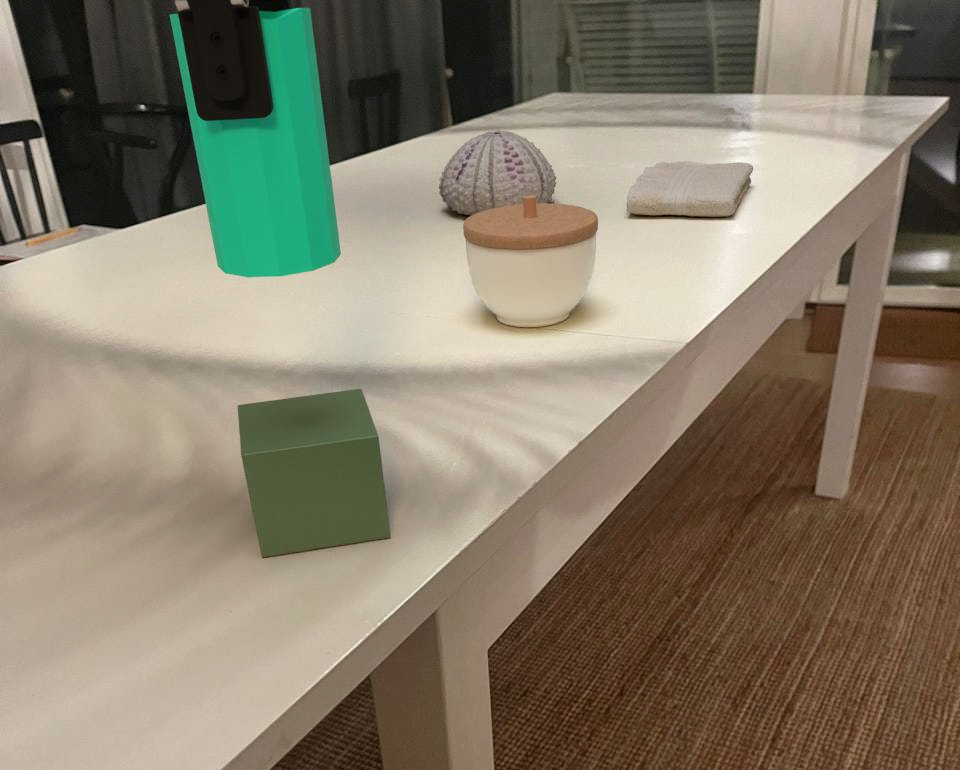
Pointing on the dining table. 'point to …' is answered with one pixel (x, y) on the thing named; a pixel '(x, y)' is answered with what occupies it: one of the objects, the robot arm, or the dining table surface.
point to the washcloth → (689, 189)
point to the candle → (270, 163)
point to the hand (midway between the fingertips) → (253, 102)
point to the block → (313, 472)
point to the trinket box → (531, 260)
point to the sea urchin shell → (495, 174)
